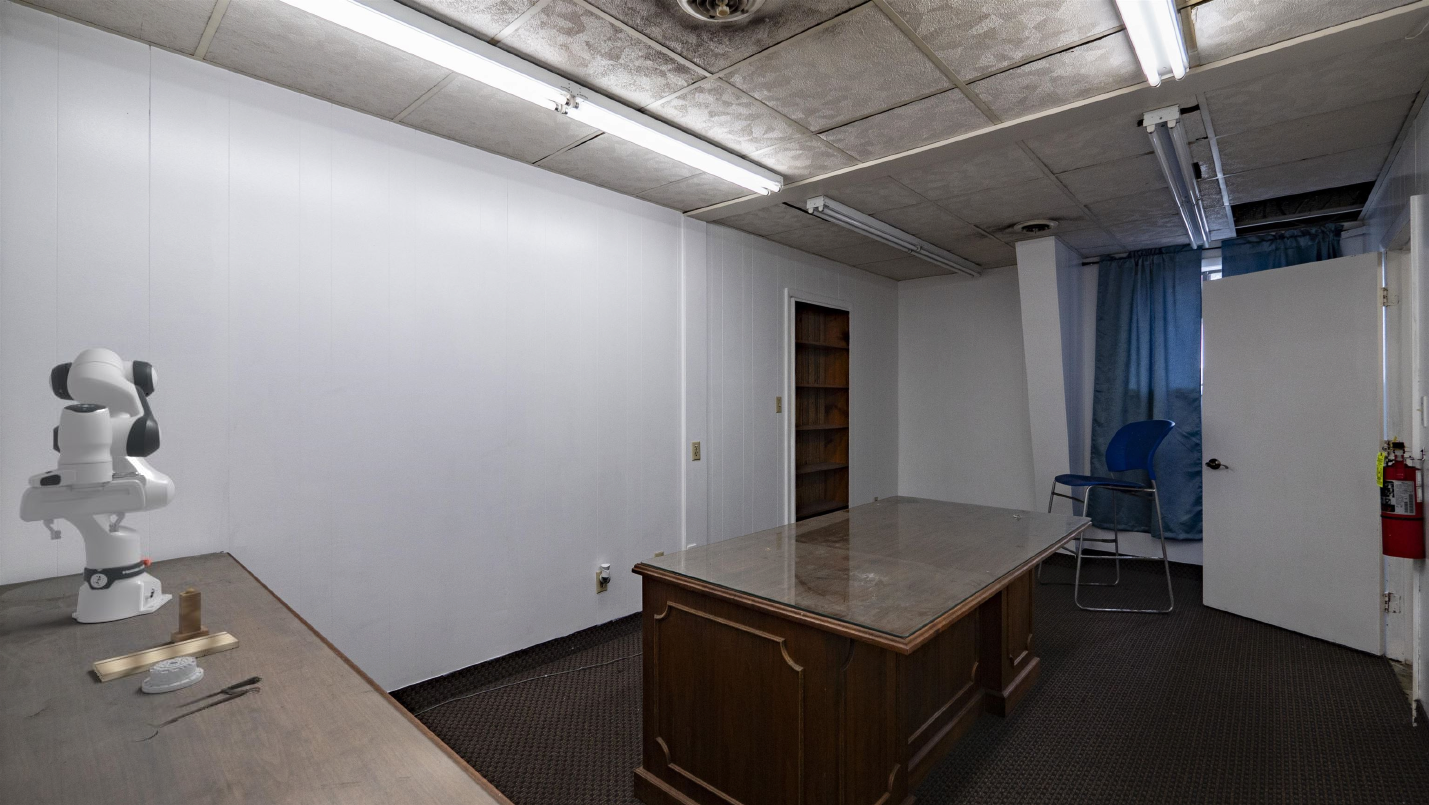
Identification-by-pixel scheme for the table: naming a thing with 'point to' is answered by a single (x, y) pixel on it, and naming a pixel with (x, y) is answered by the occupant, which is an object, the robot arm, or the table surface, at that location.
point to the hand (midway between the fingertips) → (85, 535)
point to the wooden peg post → (189, 617)
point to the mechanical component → (172, 675)
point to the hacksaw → (226, 690)
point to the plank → (163, 655)
